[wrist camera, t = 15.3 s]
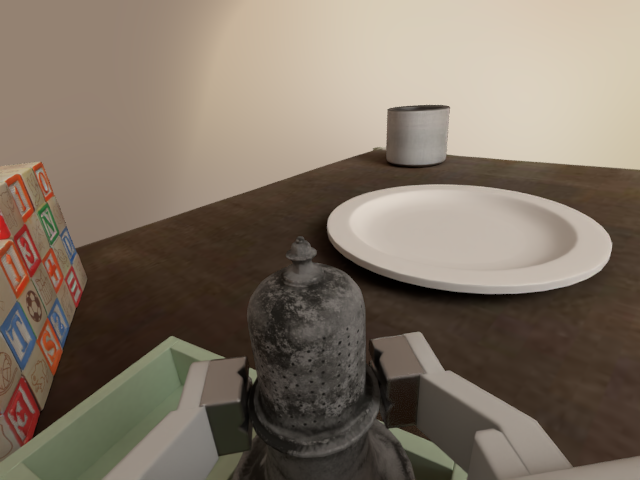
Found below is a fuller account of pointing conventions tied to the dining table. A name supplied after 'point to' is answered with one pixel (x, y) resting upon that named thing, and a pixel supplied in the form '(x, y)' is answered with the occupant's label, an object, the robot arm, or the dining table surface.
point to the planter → (417, 135)
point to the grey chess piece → (314, 381)
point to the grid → (143, 415)
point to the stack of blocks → (32, 297)
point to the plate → (469, 239)
